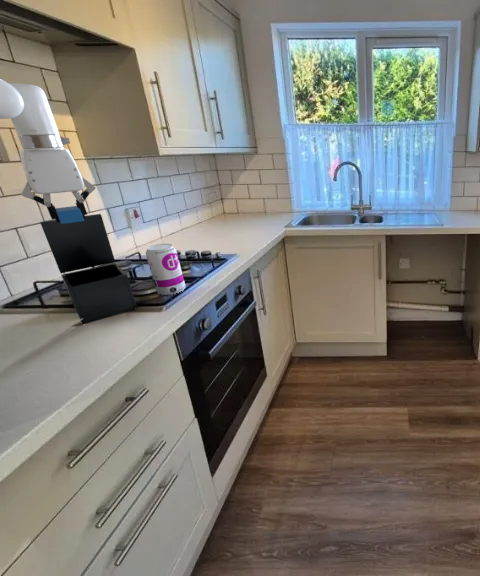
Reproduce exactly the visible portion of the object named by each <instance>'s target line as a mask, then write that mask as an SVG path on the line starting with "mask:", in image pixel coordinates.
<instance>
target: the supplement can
mask: <svg viewBox="0 0 480 576" xmlns="http://www.w3.org/2000/svg"><path fill="white" fill-rule="evenodd" d="M145 257H146V261H147V263H148V267H149V270H150V273H151V277H152V281H153V284H154V287H155V290H156V293H157V294H159V295H160V294H161V295H160V296H163V295H168V296H174V295H177V294H176V293H178V294H180V293H182V292H184V290H185V289H186V287H187V286H186V283H185V279H184V276H183V271H182V268H181V264H180V259H179V256H178V251H177V249H176V248H175V246H174V245H173V244H172V243H159V244H158V243H157V244H154V245H150V246H148V247H146V251H145ZM181 291H182V292H181ZM179 292H180V293H179ZM173 294H174V295H173Z"/></svg>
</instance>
